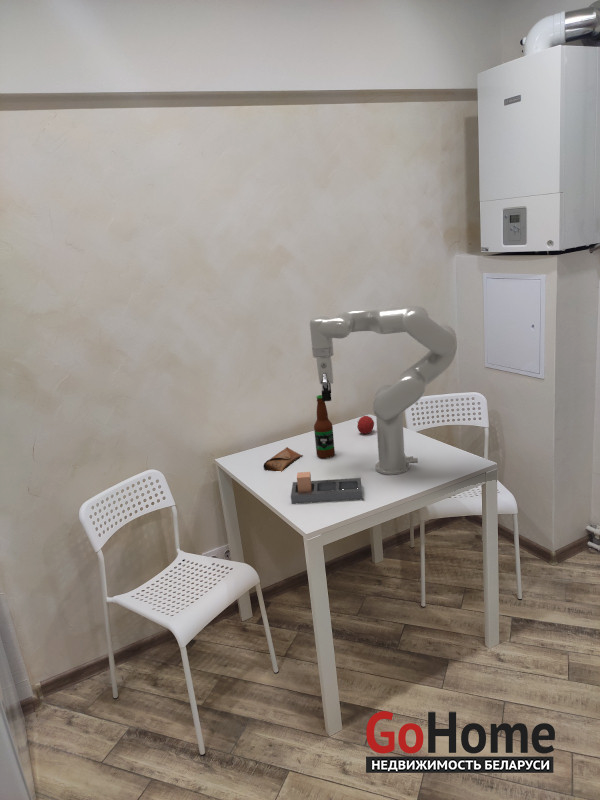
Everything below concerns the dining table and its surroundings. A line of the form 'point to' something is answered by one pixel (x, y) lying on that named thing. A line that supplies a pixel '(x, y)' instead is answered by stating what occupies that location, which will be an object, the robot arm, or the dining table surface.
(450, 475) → the dining table surface
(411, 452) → the dining table surface
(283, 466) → the sunglasses case
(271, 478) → the dining table surface
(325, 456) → the bottle
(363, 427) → the red textured ball
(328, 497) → the rack
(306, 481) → the peg
